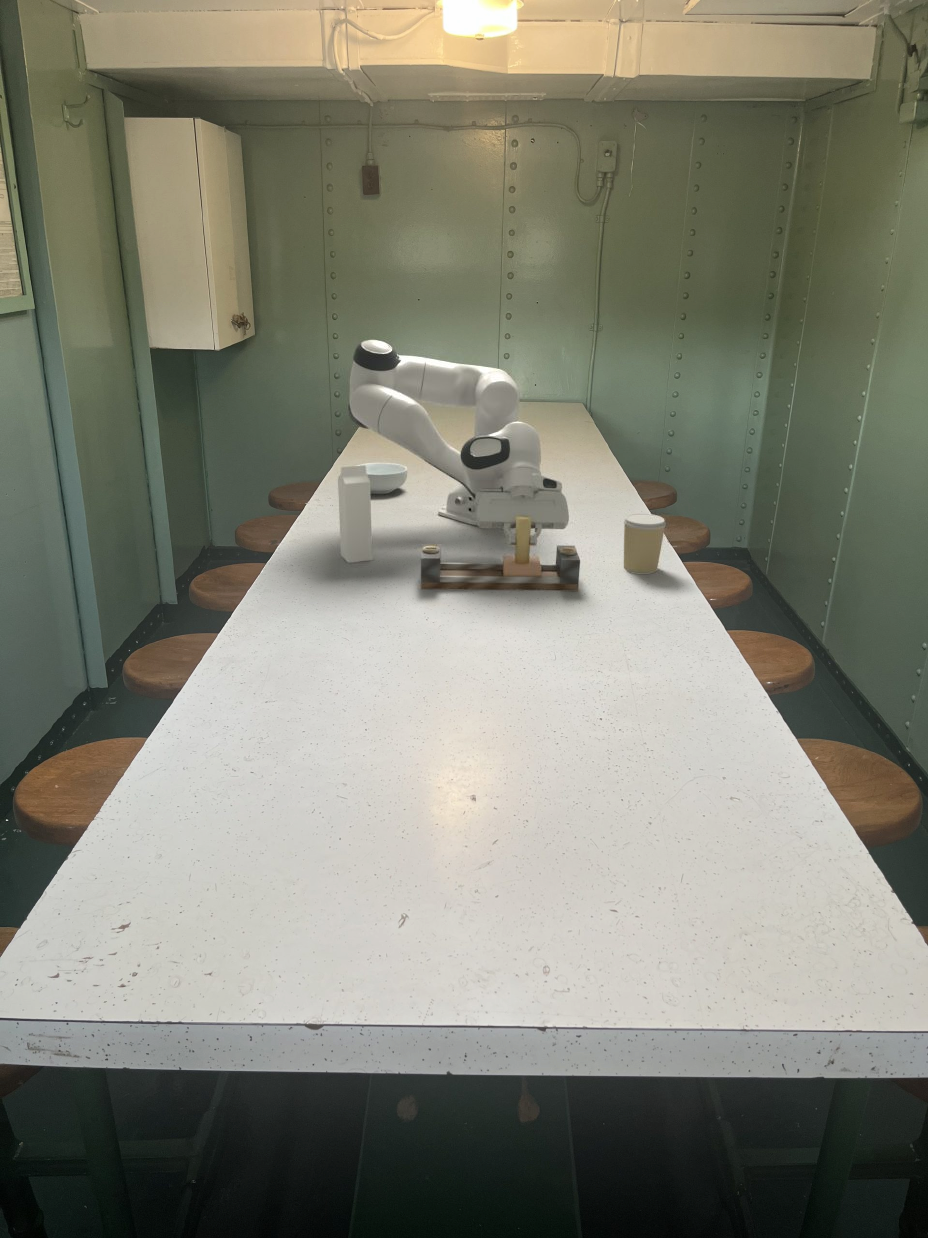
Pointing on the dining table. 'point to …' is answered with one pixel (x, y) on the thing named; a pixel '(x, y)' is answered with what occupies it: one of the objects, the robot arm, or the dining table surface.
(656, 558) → the coffee cup
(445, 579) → the rail track
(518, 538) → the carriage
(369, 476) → the cereal bowl
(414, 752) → the dining table surface
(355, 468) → the milk
